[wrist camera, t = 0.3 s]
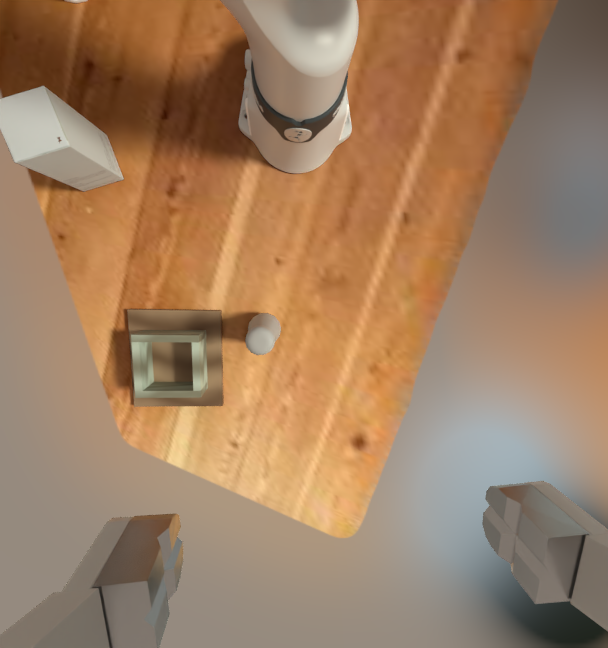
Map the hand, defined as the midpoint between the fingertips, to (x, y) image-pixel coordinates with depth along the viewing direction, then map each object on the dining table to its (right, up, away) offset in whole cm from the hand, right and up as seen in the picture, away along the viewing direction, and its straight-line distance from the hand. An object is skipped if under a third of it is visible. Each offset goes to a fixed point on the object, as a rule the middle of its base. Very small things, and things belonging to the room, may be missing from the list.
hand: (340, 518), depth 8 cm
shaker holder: (-24, -1, +46) cm, 52 cm away
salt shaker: (-8, +5, +47) cm, 48 cm away
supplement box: (-36, +32, +41) cm, 63 cm away
